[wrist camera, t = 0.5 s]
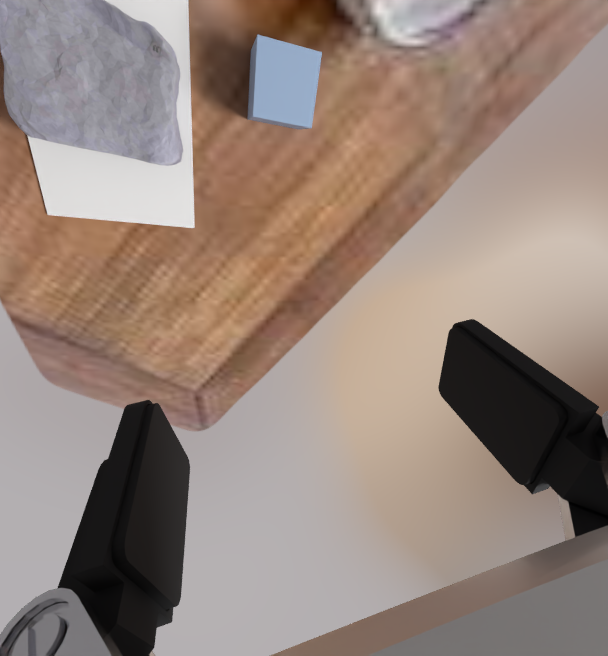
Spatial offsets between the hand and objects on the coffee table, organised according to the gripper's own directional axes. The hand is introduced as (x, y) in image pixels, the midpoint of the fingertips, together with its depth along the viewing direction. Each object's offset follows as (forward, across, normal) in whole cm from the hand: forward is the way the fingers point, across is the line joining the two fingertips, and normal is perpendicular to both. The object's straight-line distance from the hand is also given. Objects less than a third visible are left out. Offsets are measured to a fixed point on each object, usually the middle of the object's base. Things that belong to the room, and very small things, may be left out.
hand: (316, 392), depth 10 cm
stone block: (+28, +9, -12) cm, 32 cm away
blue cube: (+28, -5, -10) cm, 31 cm away
